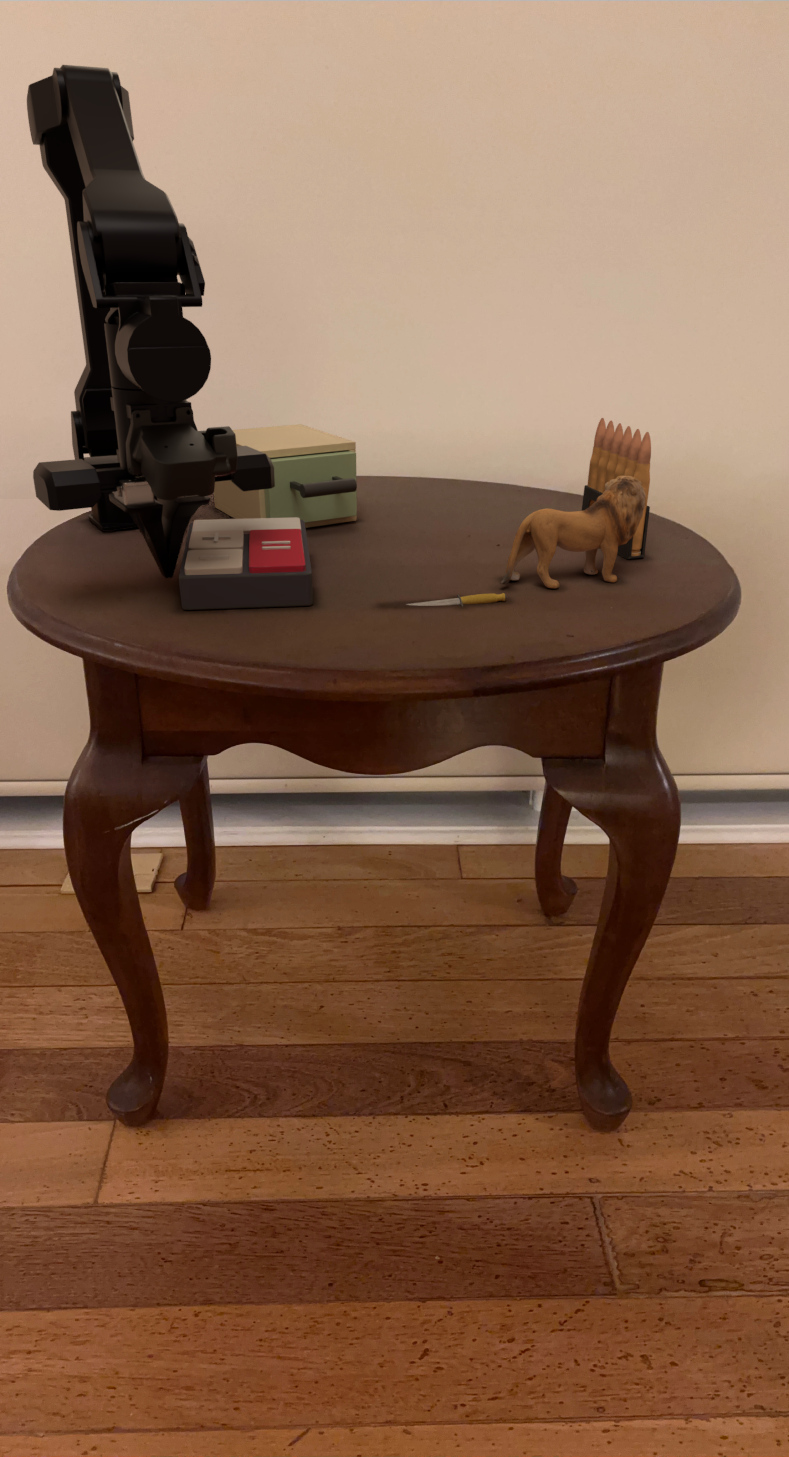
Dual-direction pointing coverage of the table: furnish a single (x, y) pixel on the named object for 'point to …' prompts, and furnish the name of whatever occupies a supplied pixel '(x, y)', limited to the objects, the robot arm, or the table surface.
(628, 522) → the lion figurine
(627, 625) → the table surface
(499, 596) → the dagger
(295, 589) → the calculator
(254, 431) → the cabinet
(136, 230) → the robot arm
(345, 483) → the drawer
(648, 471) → the ammunition clip
